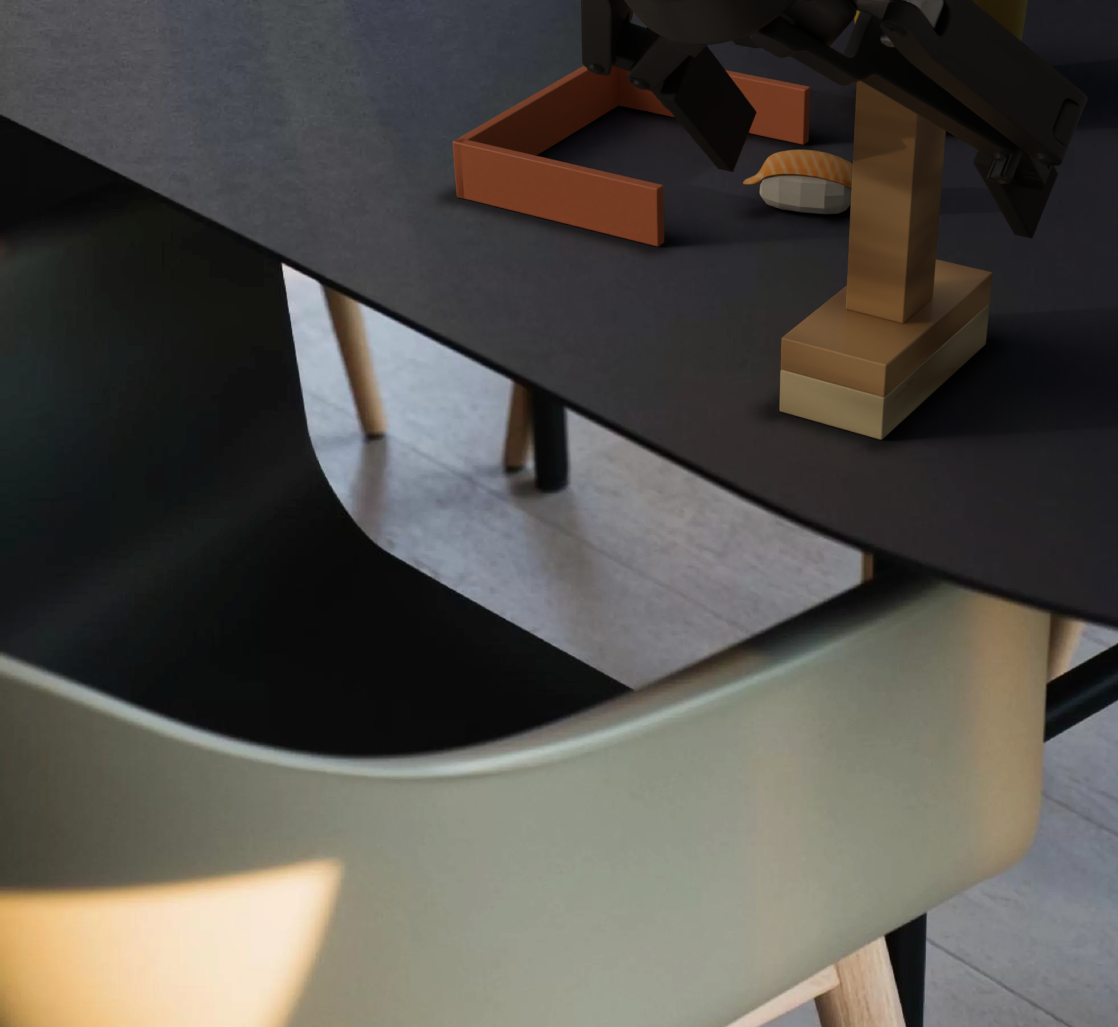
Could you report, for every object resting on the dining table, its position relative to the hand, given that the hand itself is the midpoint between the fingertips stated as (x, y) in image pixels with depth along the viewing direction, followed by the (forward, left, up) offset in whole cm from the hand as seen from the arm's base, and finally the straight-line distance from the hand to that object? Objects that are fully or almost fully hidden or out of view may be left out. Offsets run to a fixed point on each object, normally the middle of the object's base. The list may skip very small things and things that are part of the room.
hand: (881, 171), depth 84 cm
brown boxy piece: (0, -1, -10) cm, 10 cm away
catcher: (+22, -15, -10) cm, 29 cm away
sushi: (+12, -15, -10) cm, 22 cm away
